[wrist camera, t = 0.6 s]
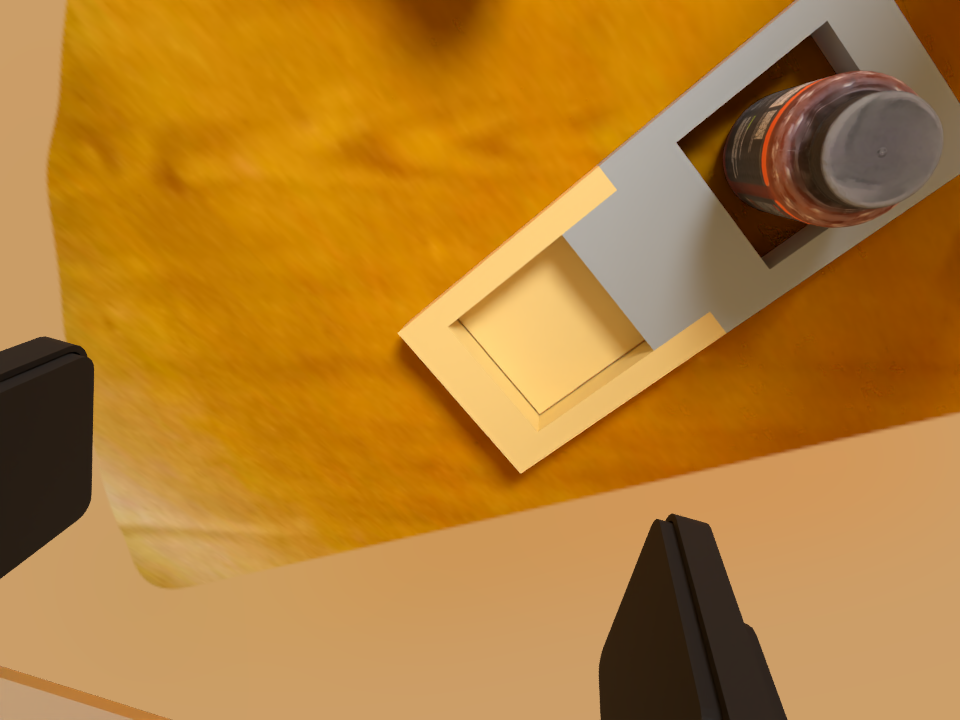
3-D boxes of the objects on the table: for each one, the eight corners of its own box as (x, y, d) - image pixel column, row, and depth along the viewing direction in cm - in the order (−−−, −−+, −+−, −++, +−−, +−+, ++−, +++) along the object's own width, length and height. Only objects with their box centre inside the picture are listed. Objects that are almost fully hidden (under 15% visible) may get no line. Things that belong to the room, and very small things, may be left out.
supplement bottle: (840, 203, 33) (970, 229, 22) (721, 218, 34) (791, 250, 24) (843, 80, 31) (985, 45, 21) (717, 100, 32) (791, 76, 22)
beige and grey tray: (837, -36, 30) (861, -52, 28) (959, 152, 32) (991, 152, 29) (408, 321, 38) (397, 333, 36) (523, 454, 40) (520, 473, 38)
